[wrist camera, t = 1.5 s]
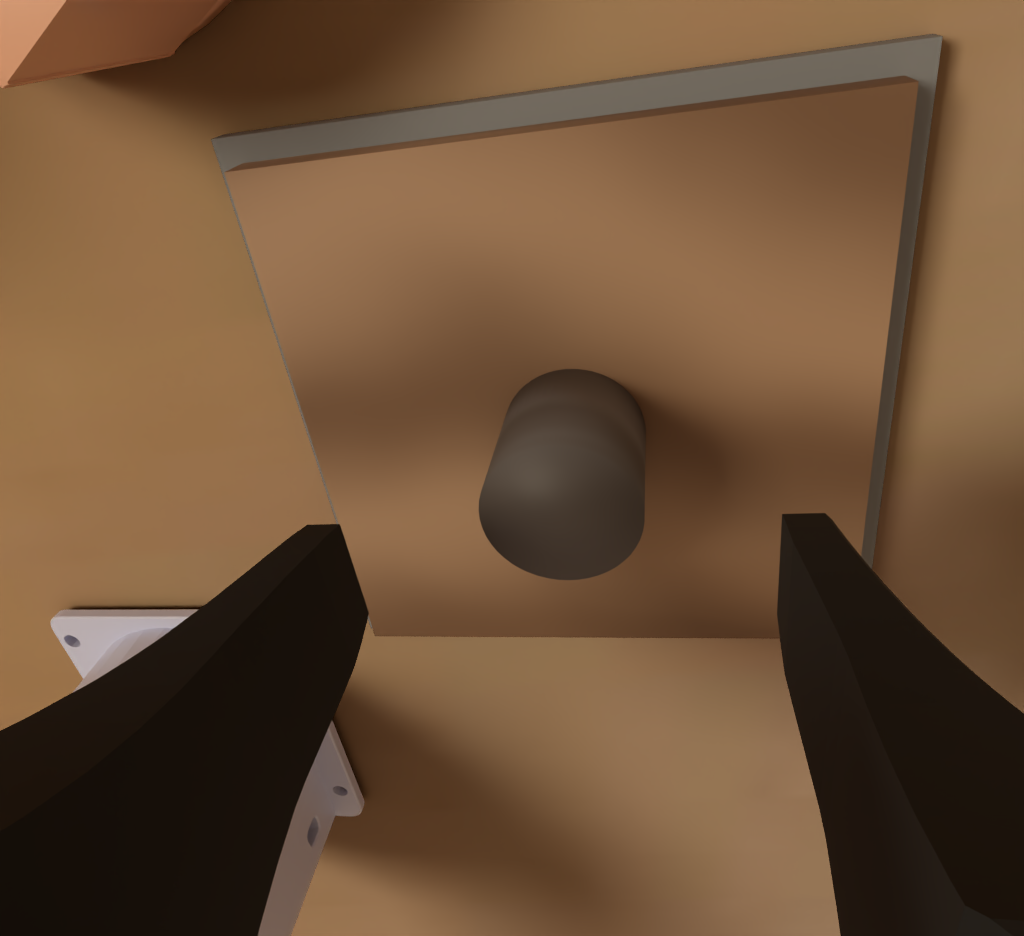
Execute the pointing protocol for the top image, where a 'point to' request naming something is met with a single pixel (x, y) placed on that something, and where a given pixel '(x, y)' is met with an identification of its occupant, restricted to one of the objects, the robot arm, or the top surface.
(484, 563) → the walnut cover
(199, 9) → the terracotta bowl
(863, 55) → the slate mat
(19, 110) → the top surface
